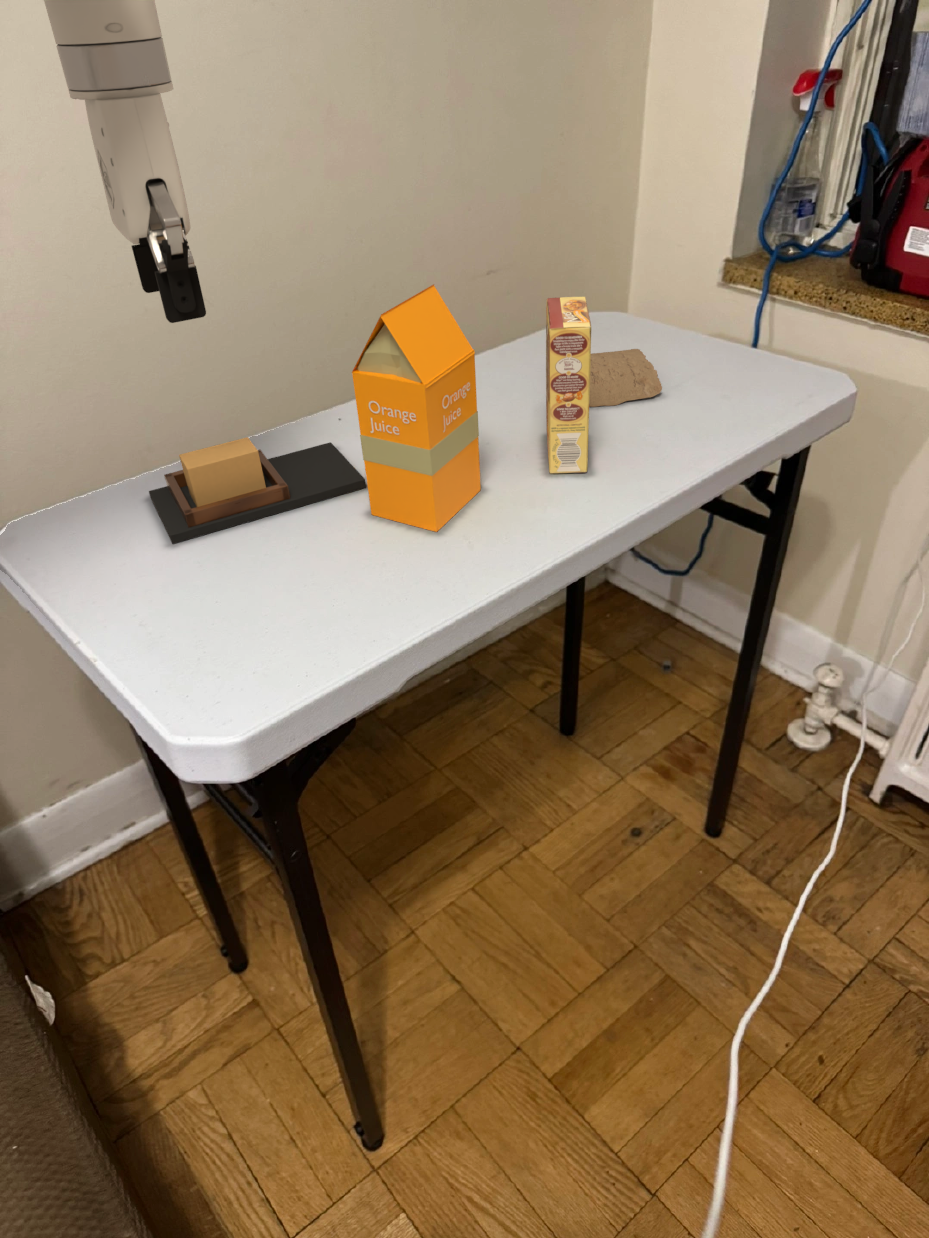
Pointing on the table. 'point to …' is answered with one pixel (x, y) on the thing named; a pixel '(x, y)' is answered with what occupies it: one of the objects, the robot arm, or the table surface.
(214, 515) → the back pad
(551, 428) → the candy box
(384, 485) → the orange juice
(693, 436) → the table surface
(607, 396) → the clay tablet
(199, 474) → the brown block
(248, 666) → the table surface
